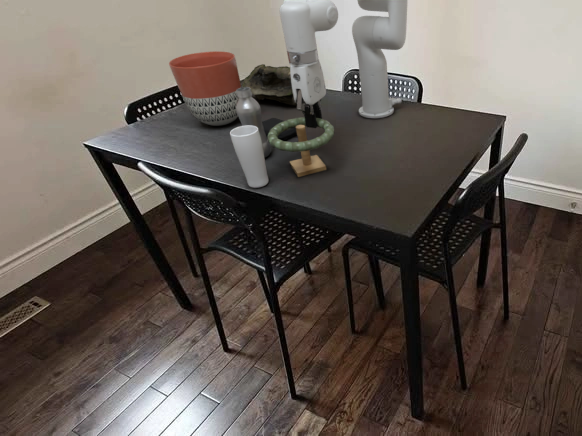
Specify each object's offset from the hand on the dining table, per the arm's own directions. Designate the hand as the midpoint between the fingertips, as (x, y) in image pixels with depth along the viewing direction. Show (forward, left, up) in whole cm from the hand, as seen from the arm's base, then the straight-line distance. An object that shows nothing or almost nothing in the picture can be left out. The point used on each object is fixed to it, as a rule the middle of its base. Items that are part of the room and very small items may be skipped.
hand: (314, 124), depth 117 cm
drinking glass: (+19, +7, -10) cm, 23 cm away
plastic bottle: (+15, -9, -10) cm, 20 cm away
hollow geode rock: (-1, -52, -10) cm, 53 cm away
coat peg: (+5, +5, -10) cm, 12 cm away
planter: (+21, -43, -10) cm, 49 cm away
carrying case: (+7, -23, -10) cm, 26 cm away
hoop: (+5, +5, 0) cm, 7 cm away
